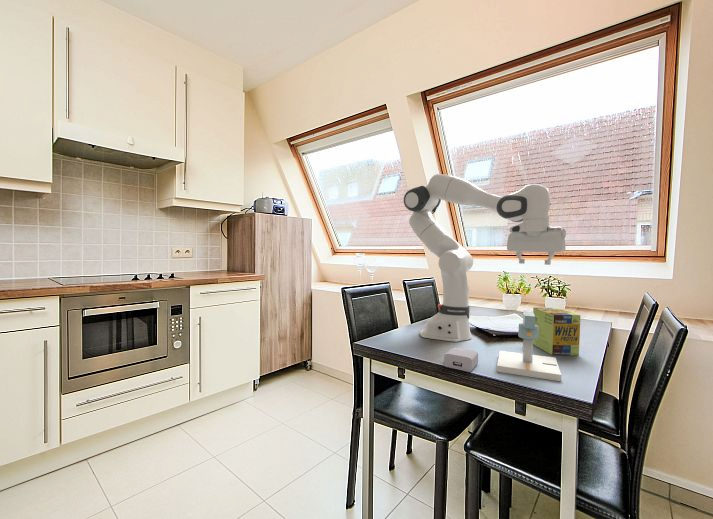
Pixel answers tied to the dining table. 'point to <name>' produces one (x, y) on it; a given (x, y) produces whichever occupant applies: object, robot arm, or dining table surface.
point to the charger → (461, 359)
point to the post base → (528, 363)
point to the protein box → (557, 331)
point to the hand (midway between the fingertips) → (534, 264)
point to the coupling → (528, 326)
